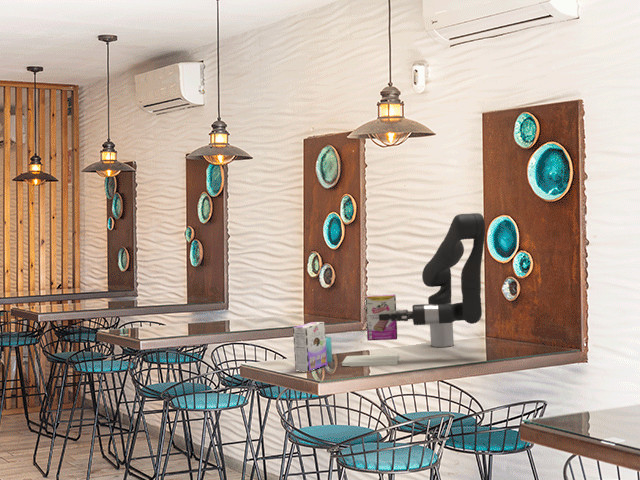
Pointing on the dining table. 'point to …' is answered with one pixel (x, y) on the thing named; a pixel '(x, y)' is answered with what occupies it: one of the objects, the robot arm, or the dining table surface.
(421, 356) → the dining table surface
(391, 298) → the candy bar box
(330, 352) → the teal rounded cylinder
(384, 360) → the plain white board
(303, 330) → the candy box
